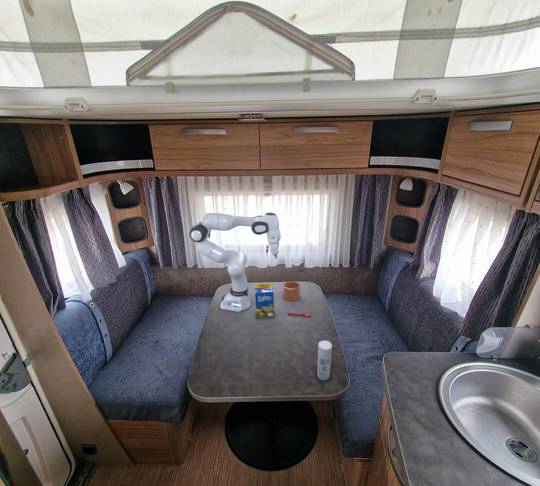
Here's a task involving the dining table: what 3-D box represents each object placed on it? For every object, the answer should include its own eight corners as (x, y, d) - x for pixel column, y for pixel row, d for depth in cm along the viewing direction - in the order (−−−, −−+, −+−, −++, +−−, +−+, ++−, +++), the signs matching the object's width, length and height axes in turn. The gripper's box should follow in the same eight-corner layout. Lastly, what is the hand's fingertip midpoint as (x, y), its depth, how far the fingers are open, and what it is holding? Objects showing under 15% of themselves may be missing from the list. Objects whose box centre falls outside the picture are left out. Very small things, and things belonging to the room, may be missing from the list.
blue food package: (256, 313, 198) (254, 282, 188) (274, 312, 198) (272, 281, 188) (256, 318, 192) (254, 286, 182) (274, 318, 193) (273, 285, 182)
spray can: (328, 370, 148) (330, 340, 140) (331, 380, 142) (333, 349, 134) (316, 370, 148) (317, 340, 140) (318, 380, 142) (319, 349, 134)
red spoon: (287, 316, 194) (287, 314, 193) (288, 312, 198) (288, 311, 197) (310, 317, 192) (310, 315, 191) (310, 314, 195) (310, 312, 195)
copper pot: (283, 300, 213) (282, 288, 208) (284, 292, 224) (284, 281, 219) (299, 301, 211) (299, 289, 207) (300, 292, 222) (300, 281, 218)
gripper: (270, 232, 198) (273, 251, 203) (267, 242, 179) (270, 262, 184) (279, 231, 197) (282, 250, 202) (277, 241, 178) (280, 261, 183)
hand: (276, 256), depth 193 cm, fingers open, 8 cm apart
